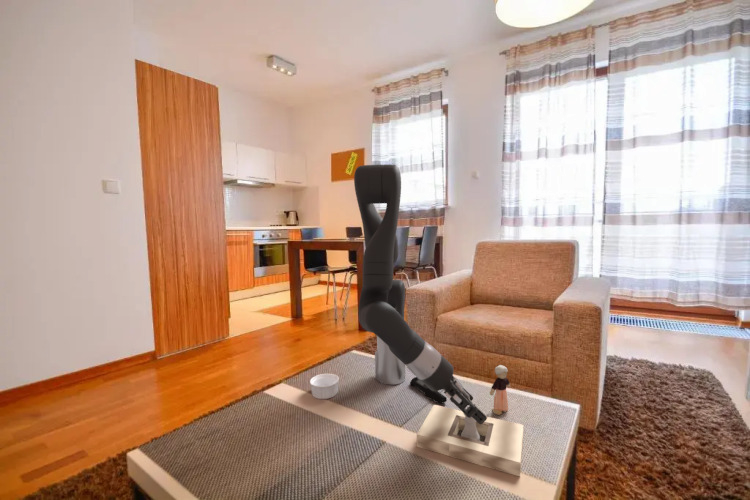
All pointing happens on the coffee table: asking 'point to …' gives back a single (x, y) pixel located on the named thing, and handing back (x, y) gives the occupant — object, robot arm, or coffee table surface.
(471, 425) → the rook chess piece
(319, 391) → the ramekin
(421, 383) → the electric trimmer
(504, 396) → the grandmother figurine
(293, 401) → the coffee table surface
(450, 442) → the socket board
